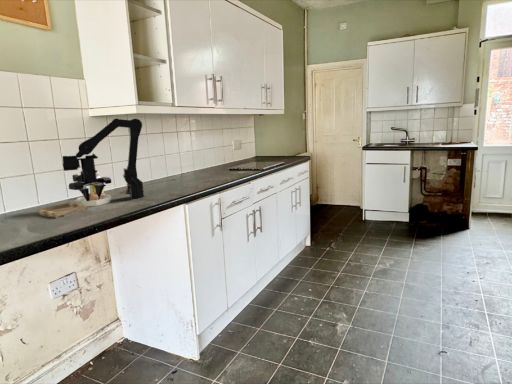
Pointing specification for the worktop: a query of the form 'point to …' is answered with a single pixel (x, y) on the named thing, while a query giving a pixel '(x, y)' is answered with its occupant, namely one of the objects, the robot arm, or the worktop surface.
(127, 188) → the pottery mug
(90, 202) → the bowl
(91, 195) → the ball
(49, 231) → the worktop surface
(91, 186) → the supplement bottle
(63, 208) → the tray
